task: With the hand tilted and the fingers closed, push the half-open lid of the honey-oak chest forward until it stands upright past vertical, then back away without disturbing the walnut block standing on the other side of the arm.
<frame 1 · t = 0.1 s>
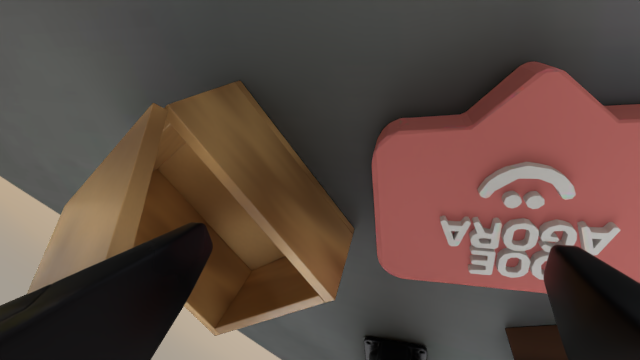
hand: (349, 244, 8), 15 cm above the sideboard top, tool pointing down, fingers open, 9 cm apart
plaque: (508, 174, 20), on the sideboard top
chest: (249, 194, 27), on the sideboard top
lid: (58, 302, 14), point 15 cm above the sideboard top, hinge at 55.0°
walnut block: (542, 344, 26), on the sideboard top
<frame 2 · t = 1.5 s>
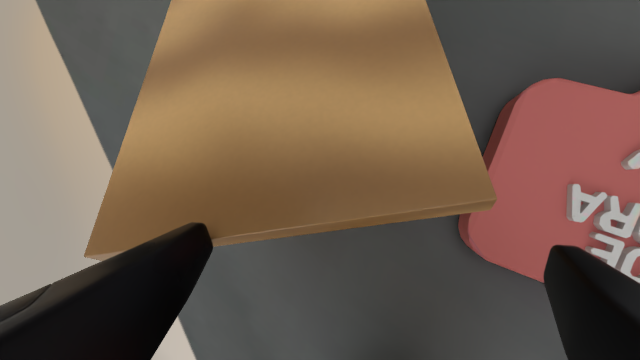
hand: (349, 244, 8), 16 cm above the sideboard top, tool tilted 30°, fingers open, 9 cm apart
plaque: (620, 189, 20), on the sideboard top
lid: (270, 59, 13), point 12 cm above the sideboard top, hinge at 25.4°
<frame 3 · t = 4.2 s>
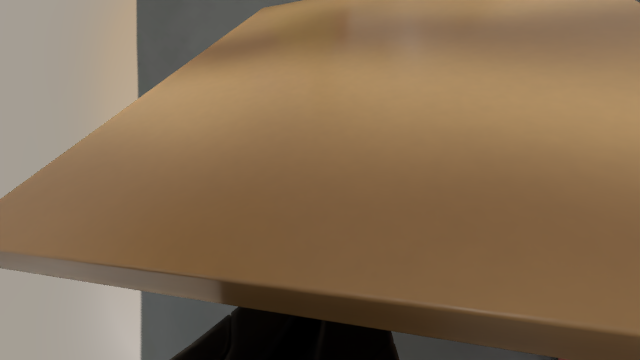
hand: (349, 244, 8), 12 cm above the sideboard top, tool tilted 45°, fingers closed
lid: (362, 53, 9), point 12 cm above the sideboard top, hinge at 29.6°
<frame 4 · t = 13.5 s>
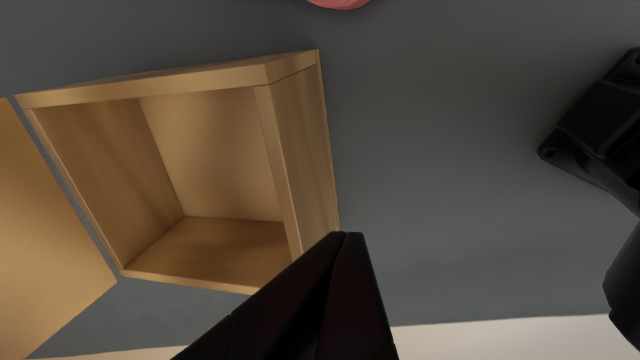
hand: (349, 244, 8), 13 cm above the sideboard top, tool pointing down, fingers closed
chest: (237, 152, 23), on the sideboard top
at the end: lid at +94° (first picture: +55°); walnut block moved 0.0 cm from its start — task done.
